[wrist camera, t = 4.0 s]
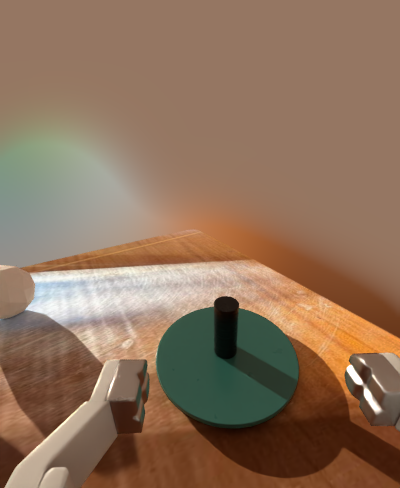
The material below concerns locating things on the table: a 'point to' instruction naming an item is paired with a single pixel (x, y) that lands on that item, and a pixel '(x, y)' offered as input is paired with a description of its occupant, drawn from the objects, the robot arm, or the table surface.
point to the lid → (227, 366)
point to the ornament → (15, 291)
